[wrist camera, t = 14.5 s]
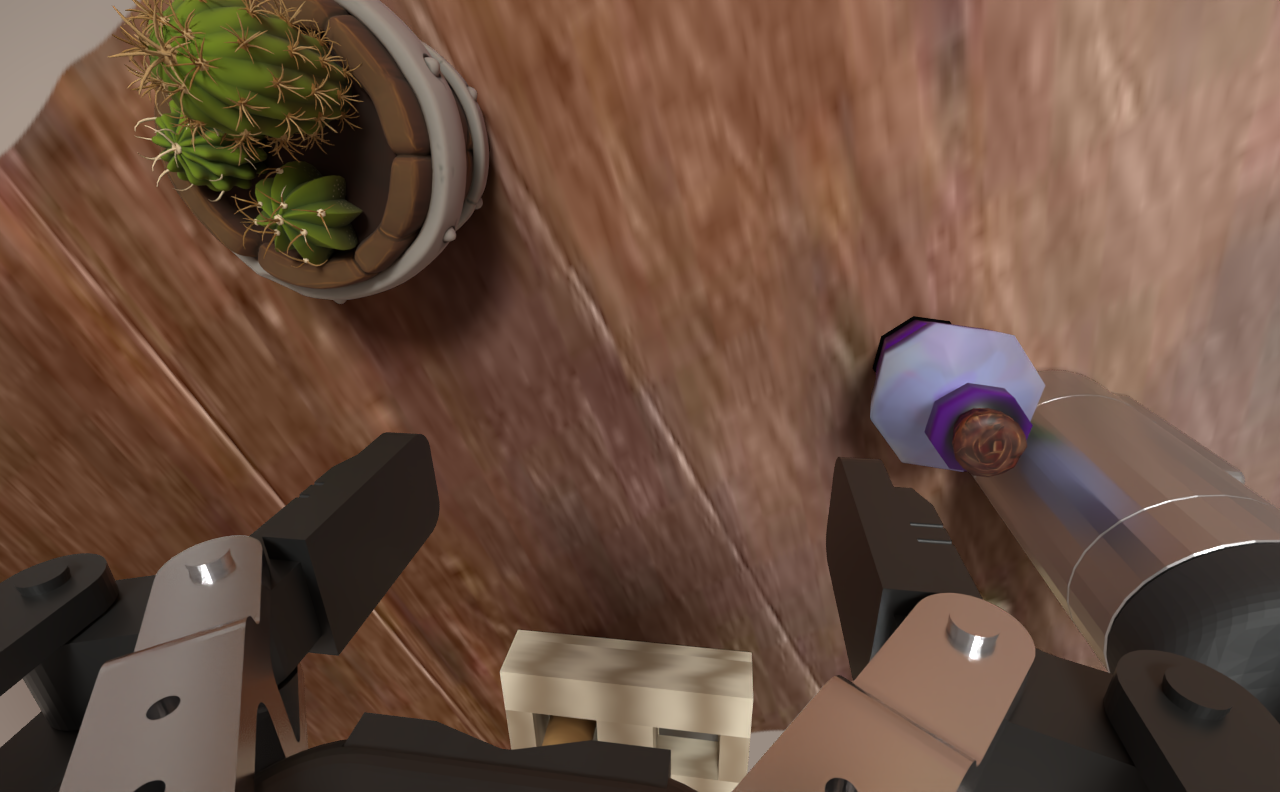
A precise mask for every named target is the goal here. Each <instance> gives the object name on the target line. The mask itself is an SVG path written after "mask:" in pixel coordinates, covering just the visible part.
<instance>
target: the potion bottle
mask: <svg viewBox="0 0 1280 792" xmlns="http://www.w3.org/2000/svg"><path fill="white" fill-rule="evenodd" d="M873 369H874V371H875V372H876V380H875V384H874V387H873V391H872V394H871V411H870V419H871V420H872V422H873V423H874V425H875V426H876V427H877V429H878V430H879V431H880V433H881V434H882V436H883V437H884V438H885V440H886V441H887V443H888V444H889V445H890V447H891V448H892V449H893V451H894V452H895V454H896V455H897V456H898V458H899V459H900V460H901V462H903V463H910V464H916V465H922V466H929V467H935V468H941V469H948V470H954V471H960V472H964V471H968V472H969V473H970V474H972V475H973V476H981V477H992V476H996V475H1000V474H1003V473H1005V472H1007V471H1009V470H1010V469H1012V468H1014V467H1015V466H1016V464H1017V462H1018V460H1019V458H1020V457H1021V455H1022V454H1023V452H1024V451H1025V449H1026V448H1027V442H1026V440H1027V438H1028V435H1029V433H1030V431H1031V428H1032V426H1033V425H1032V424H1031V422H1030V421H1031V419H1032V416H1033V414H1034V412H1035V409H1036V407H1037V404H1038V402H1039V400H1040V397H1041V395H1042V392H1043V390H1044V387H1045V384H1044V382H1043V381H1042V379H1041V377H1040V376H1039V374H1038V373H1037V371H1036V369H1035V368H1034V366H1033V365H1032V363H1031V361H1030V360H1029V358H1028V357H1027V355H1026V353H1025V352H1024V350H1023V349H1022V347H1021V345H1020V344H1019V342H1018V341H1017V339H1016V337H1015V336H1014V335H1010V334H1005V333H1000V332H996V331H991V330H987V329H981V328H973V327H966V326H959V325H952V324H951V323H950V321H944V320H936V319H929V318H922V317H914V316H913V317H912V318H910V319H908V320H907V321H905V322H904V323H902V324H900V325H899V326H897V327H896V328H894V329H892V330H891V331H889V332H888V333H886V334H884V335H883V336H881V340H880V343H879V347H878V350H877V354H876V358H875V361H874V365H873Z"/></svg>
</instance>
